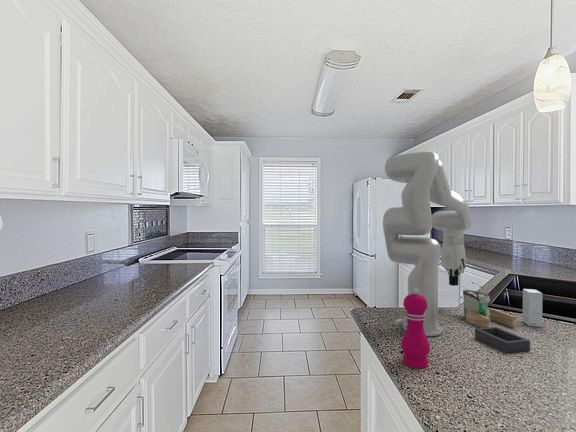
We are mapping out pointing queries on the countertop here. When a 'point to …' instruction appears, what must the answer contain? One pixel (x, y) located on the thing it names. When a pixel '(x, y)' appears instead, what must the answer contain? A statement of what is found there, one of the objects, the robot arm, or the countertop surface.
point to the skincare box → (532, 307)
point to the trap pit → (502, 339)
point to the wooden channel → (490, 318)
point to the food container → (475, 302)
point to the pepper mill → (415, 332)
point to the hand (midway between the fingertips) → (453, 285)
